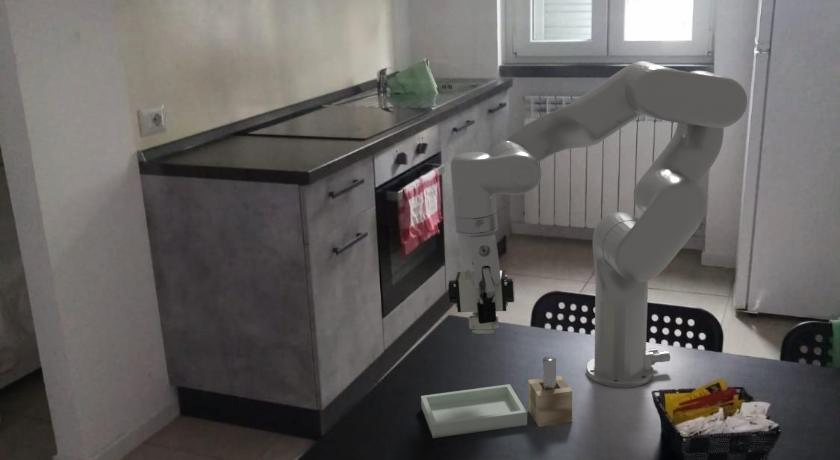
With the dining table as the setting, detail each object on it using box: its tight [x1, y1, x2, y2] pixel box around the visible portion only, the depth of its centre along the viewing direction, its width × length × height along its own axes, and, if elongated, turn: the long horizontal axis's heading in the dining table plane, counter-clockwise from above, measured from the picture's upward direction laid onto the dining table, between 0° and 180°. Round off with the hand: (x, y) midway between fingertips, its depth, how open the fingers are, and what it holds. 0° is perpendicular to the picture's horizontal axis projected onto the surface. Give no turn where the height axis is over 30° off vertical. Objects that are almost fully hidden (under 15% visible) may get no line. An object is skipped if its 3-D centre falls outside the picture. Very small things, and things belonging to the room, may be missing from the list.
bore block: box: [527, 375, 573, 428], centre depth 151 cm, size 6×6×6 cm
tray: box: [420, 383, 528, 439], centre depth 153 cm, size 17×11×2 cm, turn 100°
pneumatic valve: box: [447, 270, 515, 335], centre depth 159 cm, size 6×12×12 cm, turn 82°
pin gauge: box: [542, 356, 557, 391], centre depth 150 cm, size 2×2×11 cm
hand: (482, 314), depth 159 cm, fingers closed on pneumatic valve, 5 cm apart
